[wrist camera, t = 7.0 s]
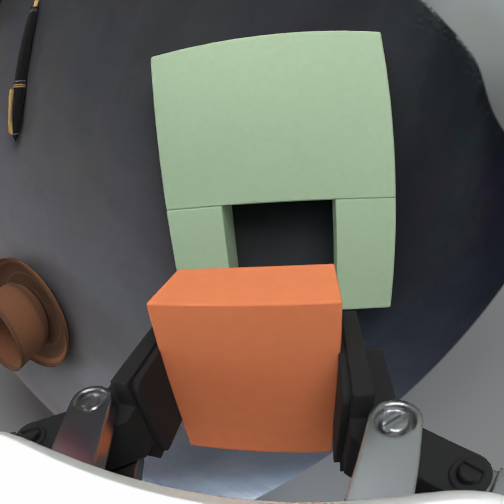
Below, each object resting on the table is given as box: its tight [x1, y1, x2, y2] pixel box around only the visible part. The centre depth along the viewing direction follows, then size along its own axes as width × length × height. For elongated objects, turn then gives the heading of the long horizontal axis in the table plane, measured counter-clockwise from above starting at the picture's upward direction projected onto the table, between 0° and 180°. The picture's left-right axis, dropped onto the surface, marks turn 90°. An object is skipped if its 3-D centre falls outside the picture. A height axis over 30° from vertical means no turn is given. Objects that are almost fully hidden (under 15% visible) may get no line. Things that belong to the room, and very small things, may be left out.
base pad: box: [151, 31, 396, 309], centre depth 18 cm, size 13×16×2 cm
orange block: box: [147, 264, 343, 452], centre depth 10 cm, size 5×6×2 cm
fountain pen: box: [8, 0, 39, 141], centre depth 18 cm, size 14×1×2 cm, turn 174°
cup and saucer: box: [0, 258, 69, 371], centre depth 24 cm, size 12×12×6 cm
